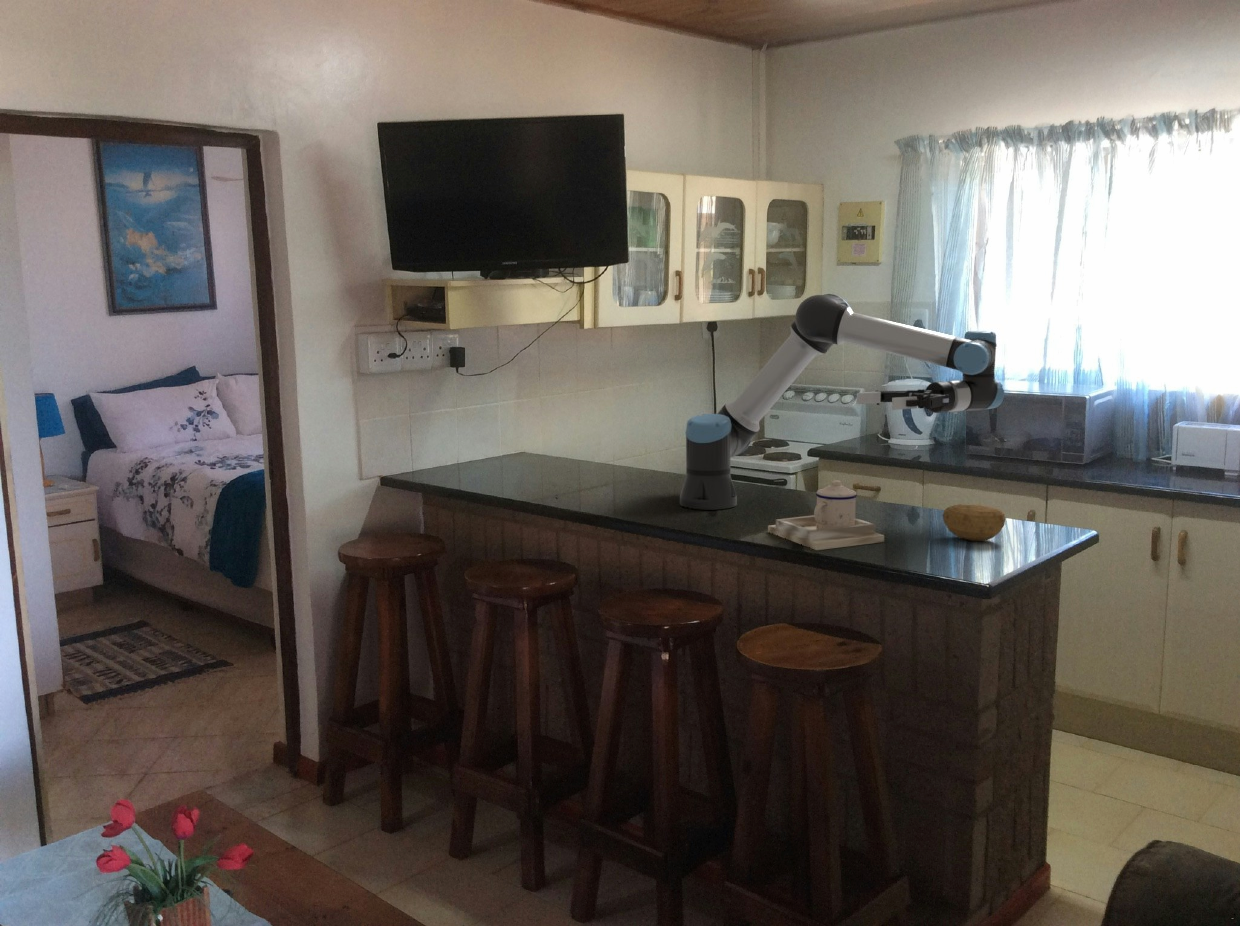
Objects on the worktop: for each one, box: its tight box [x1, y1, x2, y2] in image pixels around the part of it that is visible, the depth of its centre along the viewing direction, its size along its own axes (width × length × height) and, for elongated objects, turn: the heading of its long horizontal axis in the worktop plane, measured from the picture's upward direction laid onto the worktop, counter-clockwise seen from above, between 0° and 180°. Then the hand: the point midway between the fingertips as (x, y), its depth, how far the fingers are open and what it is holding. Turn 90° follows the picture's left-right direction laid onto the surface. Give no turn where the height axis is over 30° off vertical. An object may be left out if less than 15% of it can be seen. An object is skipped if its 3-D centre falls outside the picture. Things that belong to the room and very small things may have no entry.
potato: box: [942, 504, 1006, 542], centre depth 243 cm, size 10×14×8 cm
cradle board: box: [767, 515, 885, 551], centre depth 248 cm, size 20×18×4 cm
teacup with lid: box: [813, 479, 857, 530], centre depth 245 cm, size 12×9×12 cm
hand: (874, 401), depth 255 cm, fingers open, 13 cm apart
